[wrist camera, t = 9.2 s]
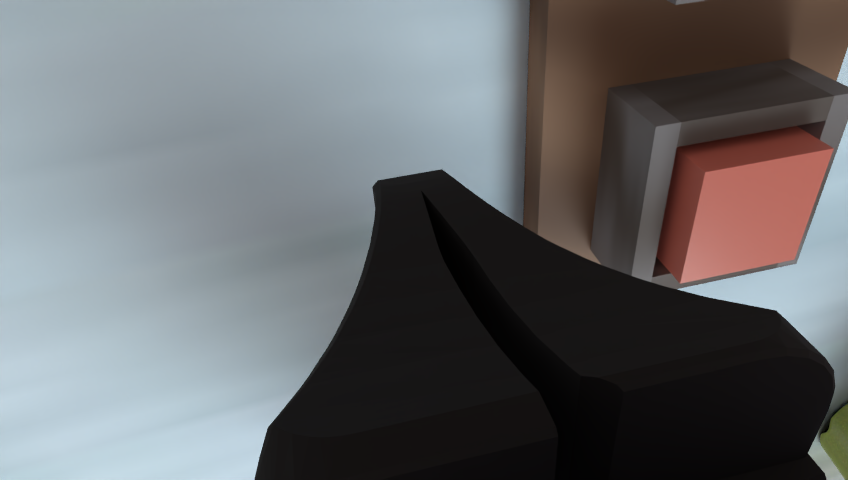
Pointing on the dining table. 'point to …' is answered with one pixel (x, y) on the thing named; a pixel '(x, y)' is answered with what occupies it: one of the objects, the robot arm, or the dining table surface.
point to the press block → (663, 108)
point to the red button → (740, 202)
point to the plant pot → (837, 441)
